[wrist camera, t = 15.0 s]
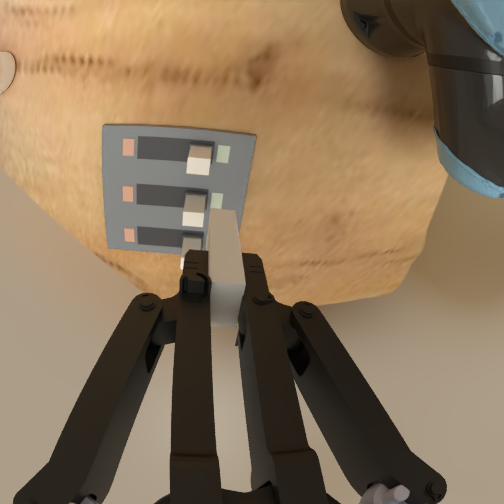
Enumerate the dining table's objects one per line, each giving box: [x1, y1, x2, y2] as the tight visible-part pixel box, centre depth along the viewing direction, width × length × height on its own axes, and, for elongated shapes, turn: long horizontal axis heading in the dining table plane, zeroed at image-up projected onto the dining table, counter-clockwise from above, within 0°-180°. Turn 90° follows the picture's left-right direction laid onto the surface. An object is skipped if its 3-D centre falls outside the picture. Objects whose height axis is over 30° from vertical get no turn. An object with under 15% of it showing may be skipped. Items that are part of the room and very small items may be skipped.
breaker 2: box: [182, 191, 207, 227], centre depth 39 cm, size 2×3×6 cm
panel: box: [102, 124, 256, 255], centre depth 41 cm, size 20×21×1 cm
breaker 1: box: [186, 143, 213, 175], centre depth 35 cm, size 2×3×6 cm
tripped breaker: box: [181, 233, 203, 269], centre depth 43 cm, size 2×3×6 cm
